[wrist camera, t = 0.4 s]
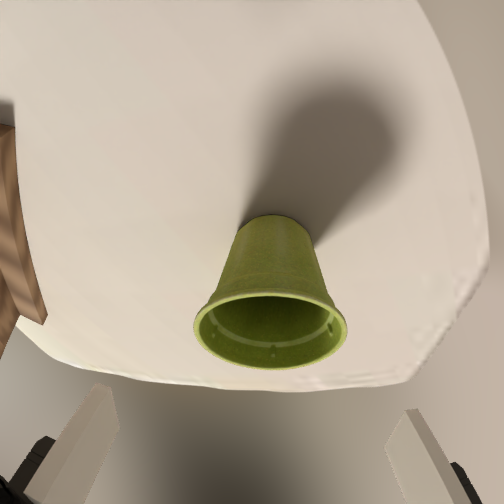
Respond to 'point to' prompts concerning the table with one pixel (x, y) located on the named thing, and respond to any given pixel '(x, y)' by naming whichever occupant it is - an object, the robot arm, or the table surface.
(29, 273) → the digit board
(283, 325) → the plant pot
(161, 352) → the table surface
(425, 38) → the table surface
